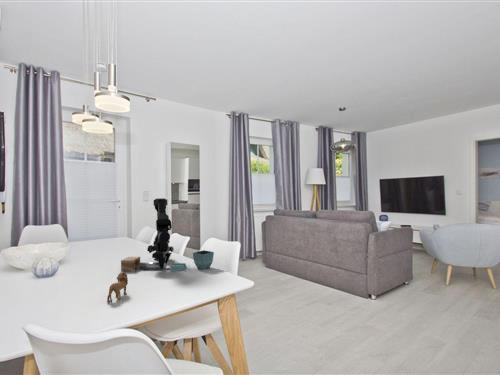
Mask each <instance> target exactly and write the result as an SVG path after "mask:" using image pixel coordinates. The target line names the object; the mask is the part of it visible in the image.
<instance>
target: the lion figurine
mask: <svg viewBox="0 0 500 375" xmlns="http://www.w3.org/2000/svg"><path fill="white" fill-rule="evenodd" d="M116 280H117V282H113V283H112V284H111V285H110V286H109V290H108V295H107V300H106V302H107V303H113V299H112V294H113V292H114V293H115V298H116V299H117V300H119V301H120V300H121V299H122V298H121V297H119V296H121V290H123V295H127V294H128V293H127V286H128V285H129V284H128V283H129V280H128V274H127V273H126V271H121V272H119V273H118V275H117V277H116Z"/></svg>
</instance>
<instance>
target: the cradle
mask: <svg viewBox="0 0 500 375" xmlns="http://www.w3.org/2000/svg"><path fill="white" fill-rule="evenodd" d="M186 268H187V264H186V262H184V263H183V262H180V263H179V262H173V263H172V264H171V265H170V268H169V271H170V272H182V271H184V270H185V269H186Z"/></svg>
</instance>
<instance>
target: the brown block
mask: <svg viewBox="0 0 500 375" xmlns="http://www.w3.org/2000/svg"><path fill="white" fill-rule="evenodd" d="M140 263H141V256H128V257H125V258H122V259H121V260H120V271H121V272H134V271H136V269H138V268H139V265H140ZM139 269H140V268H139Z"/></svg>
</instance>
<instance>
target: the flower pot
mask: <svg viewBox="0 0 500 375" xmlns="http://www.w3.org/2000/svg"><path fill="white" fill-rule="evenodd" d="M214 254H215V253H214V251H210V250H205V249H204V250H198V251H195V252H193V253H192V257H193V261H194V262H193V263H194V264H195V267H196V268H197V269H200V270H205V269H208V268H210V267H211V266H212V264H213V261H214Z"/></svg>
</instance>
